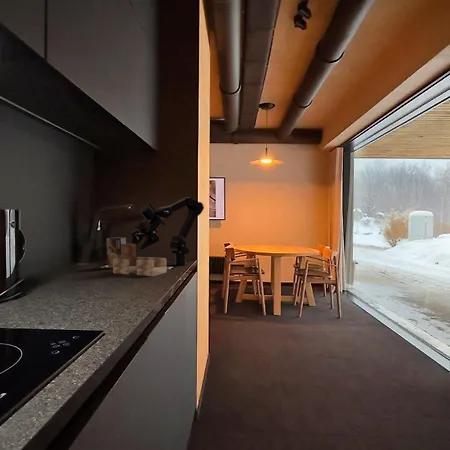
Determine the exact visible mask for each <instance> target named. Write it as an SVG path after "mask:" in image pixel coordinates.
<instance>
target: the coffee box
mask: <svg viewBox="0 0 450 450" xmlns="http://www.w3.org/2000/svg"><path fill="white" fill-rule="evenodd" d="M121 244H128V242H127V237H122V236H121V237H107V238H106V255H107V256H106V257H107V259H106V260H107V268H108V267H109V268H111V269H113V259H121Z"/></svg>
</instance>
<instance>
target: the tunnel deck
mask: <svg viewBox="0 0 450 450" xmlns="http://www.w3.org/2000/svg"><path fill="white" fill-rule="evenodd" d="M167 270H168V269H167V257H148V256H147V257H146V256H145V257H144V256H136V266H132V267H129V259H113V268H112V271H113V274H118V275H136V276H144V277H145V276H146V277H147V276H148V277H154V276H158V275H162V274H166V273H167Z"/></svg>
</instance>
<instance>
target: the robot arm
mask: <svg viewBox="0 0 450 450" xmlns="http://www.w3.org/2000/svg"><path fill="white" fill-rule="evenodd" d="M184 207H185V208H187V216H186V218H185V221H184V222H183V223H182V225H181V228H180V230H179V232H178V234H177V235H173V236H172V238H171V240H170V241H169V248H170V250H171V253H172V254H175V255H174V259H175V261H174V263H173V265H174V266H186V265H187V264H188V262H186V255H188V254H190V253H189V251H190V249H189V247H187V237H188V236H189V233H190V231H191V229H192V227H193V225H194V223H195V221H196V219H197V218H198V217H199V216H200V215H201V214H202V212H203V211H204V209H205V207H204V203H202V202H201V201H198V200H195V199H193V198H190V197H182V198H181V199H179V200H177V201H175V202H173V203H172V204H169V205H166V206H160V207H158V208H156V209H155V208H154V207H153V206H152V204H151V203H146V205H143V206H142V207H141V208H140V209H139V213H140V214H141V215H142V216H143V218H144V219H145V220H143V221H141V220H135V222H134V225H133V227H134V228H135V229H137V230H131V232H130V233H129V235H130V236H131V242H130V244H136V246H137V245H138V244H140V243H141V241H143V243H142V244H141V245H140V248H139V250H141V251H142V250H144V249H145V248H148V247H150V246H152V245H155V244H157V243H159V242H160V239H161V238H160V236H159V235H158V229H159V228H160V226H163V227H164V226H166V224H165V220H163V219H169V218H170V217H171V216H172V215H173V214H174V213H175V212H176V211H179V210H180V209H182V208H184ZM143 239H145V240H143Z"/></svg>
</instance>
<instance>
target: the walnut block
mask: <svg viewBox="0 0 450 450" xmlns="http://www.w3.org/2000/svg"><path fill="white" fill-rule="evenodd" d="M136 249H137V245H136V244H131V242H130V243H127V244H121V259H129V267H132V266H136V257H137V255H136V253H137V251H136Z"/></svg>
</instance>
